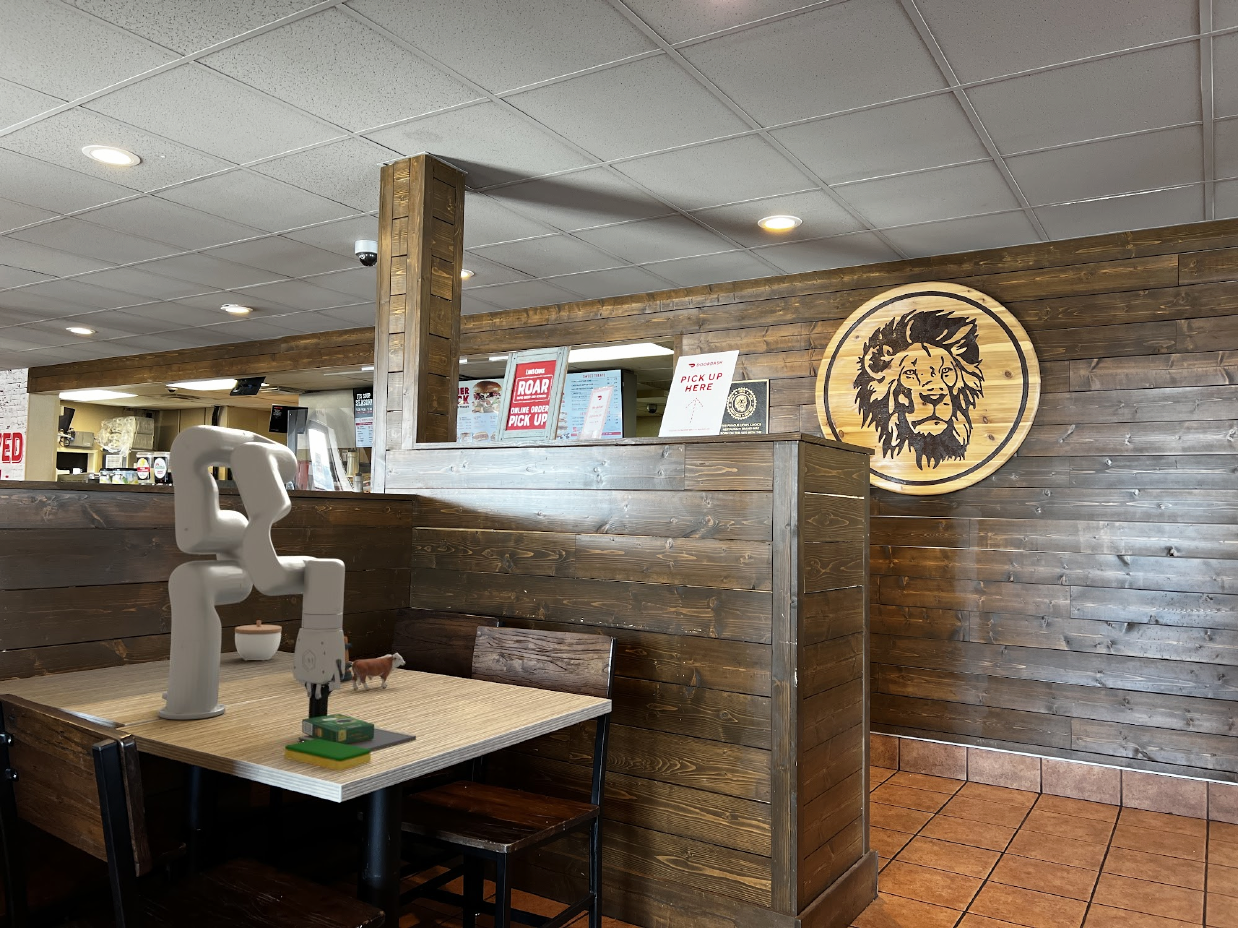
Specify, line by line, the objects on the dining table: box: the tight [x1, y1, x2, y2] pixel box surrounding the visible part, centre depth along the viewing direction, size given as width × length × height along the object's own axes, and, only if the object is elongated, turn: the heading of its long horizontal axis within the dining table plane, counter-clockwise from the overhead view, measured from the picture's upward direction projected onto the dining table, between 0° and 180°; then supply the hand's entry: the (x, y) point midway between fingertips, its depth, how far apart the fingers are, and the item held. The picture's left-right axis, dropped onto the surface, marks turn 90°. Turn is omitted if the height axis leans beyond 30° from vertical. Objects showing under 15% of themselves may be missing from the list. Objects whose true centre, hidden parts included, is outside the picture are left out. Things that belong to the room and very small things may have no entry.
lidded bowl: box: [234, 620, 283, 661], centre depth 257 cm, size 13×13×11 cm
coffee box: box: [301, 713, 375, 744], centre depth 165 cm, size 8×3×13 cm
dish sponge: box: [284, 739, 372, 771], centre depth 152 cm, size 7×14×2 cm, turn 59°
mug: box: [340, 636, 354, 683], centre depth 228 cm, size 13×10×12 cm
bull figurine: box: [351, 652, 406, 691], centre depth 218 cm, size 4×13×8 cm, turn 127°
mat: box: [297, 726, 417, 752], centre depth 166 cm, size 16×14×1 cm
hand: (317, 717), depth 171 cm, fingers closed
